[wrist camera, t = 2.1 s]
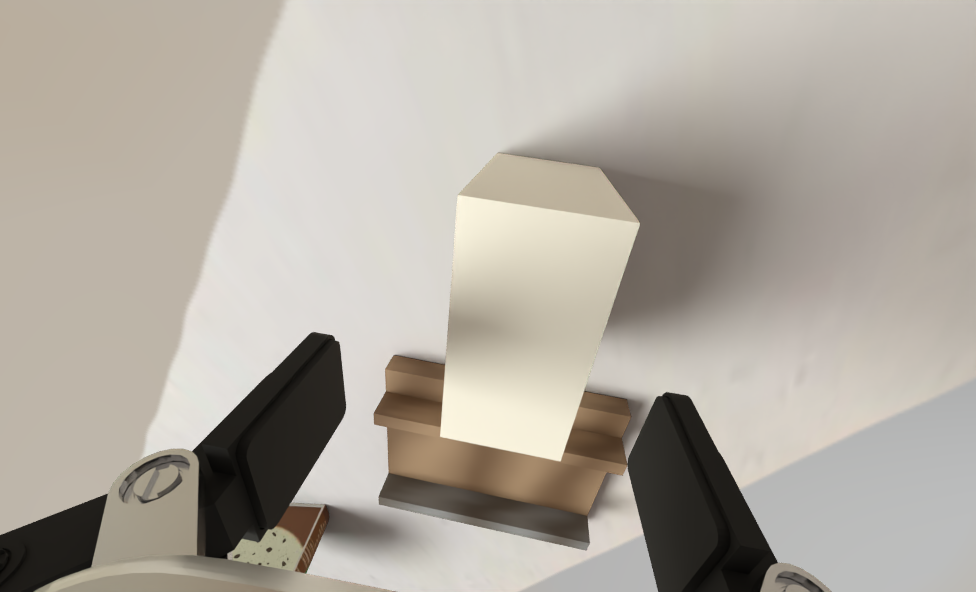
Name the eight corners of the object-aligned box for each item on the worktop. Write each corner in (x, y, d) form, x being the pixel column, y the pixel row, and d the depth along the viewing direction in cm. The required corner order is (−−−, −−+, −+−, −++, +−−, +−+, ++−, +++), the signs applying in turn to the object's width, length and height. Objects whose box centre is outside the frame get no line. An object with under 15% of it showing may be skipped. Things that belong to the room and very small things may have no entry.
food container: (261, 534, 41) (183, 651, 32) (234, 500, 38) (141, 619, 29) (359, 540, 38) (303, 670, 30) (338, 504, 35) (270, 636, 27)
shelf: (626, 399, 24) (637, 443, 21) (576, 517, 31) (579, 563, 28) (393, 355, 25) (372, 390, 22) (396, 478, 32) (379, 518, 29)
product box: (599, 167, 17) (640, 223, 10) (556, 334, 22) (560, 461, 15) (493, 152, 18) (450, 193, 10) (474, 320, 23) (435, 435, 15)
